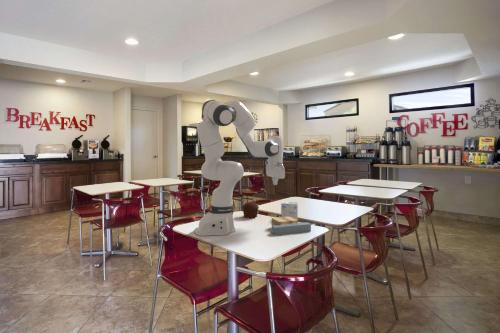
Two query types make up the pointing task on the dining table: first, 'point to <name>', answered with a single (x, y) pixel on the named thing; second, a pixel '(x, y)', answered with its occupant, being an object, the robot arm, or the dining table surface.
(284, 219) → the oak block
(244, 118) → the robot arm
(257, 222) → the dining table surface
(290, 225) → the blue-grey bar
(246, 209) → the muffin
